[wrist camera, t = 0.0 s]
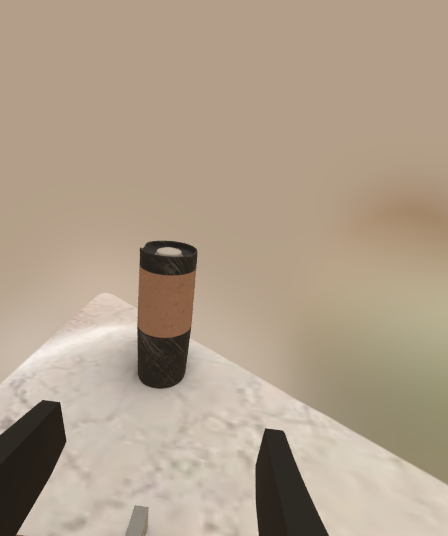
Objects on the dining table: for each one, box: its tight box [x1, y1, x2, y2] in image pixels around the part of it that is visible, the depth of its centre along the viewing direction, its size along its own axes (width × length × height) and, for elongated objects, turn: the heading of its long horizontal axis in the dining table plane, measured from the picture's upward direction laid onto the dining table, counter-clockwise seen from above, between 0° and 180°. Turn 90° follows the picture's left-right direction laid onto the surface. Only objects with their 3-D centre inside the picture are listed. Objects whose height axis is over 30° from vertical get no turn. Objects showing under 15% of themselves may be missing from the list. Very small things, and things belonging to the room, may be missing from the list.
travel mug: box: [137, 241, 197, 388], centre depth 41 cm, size 8×8×20 cm
